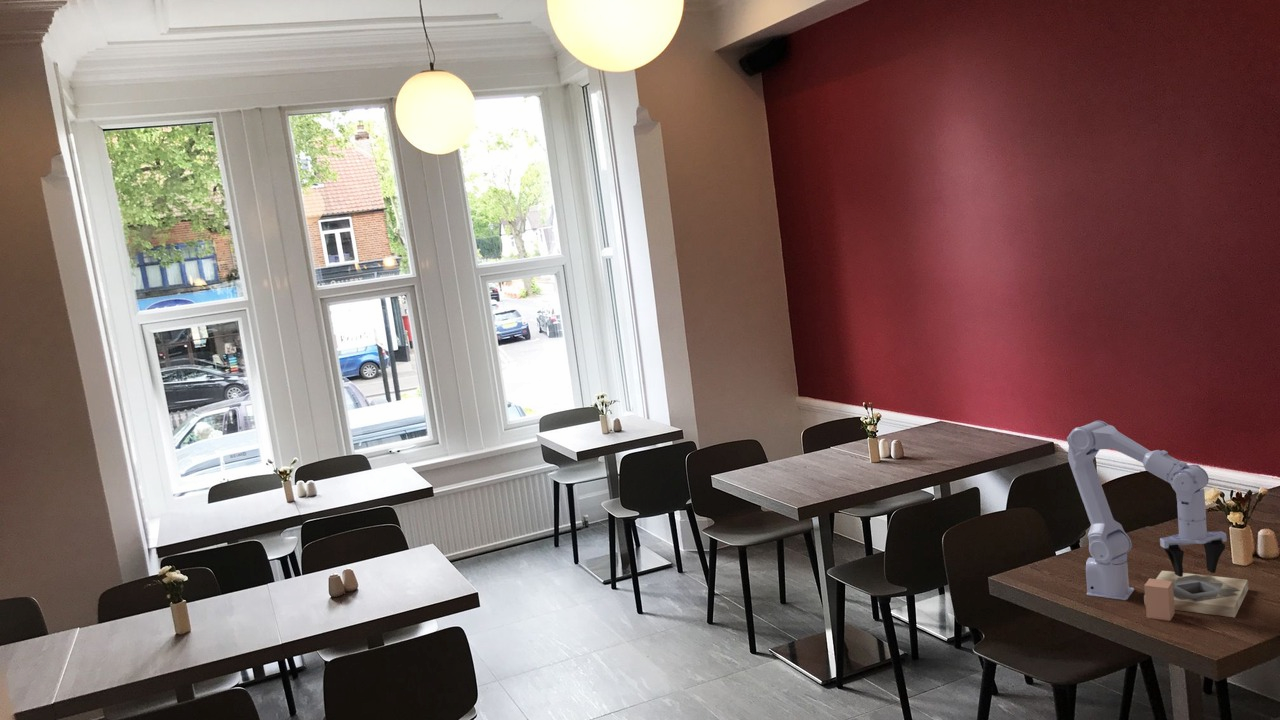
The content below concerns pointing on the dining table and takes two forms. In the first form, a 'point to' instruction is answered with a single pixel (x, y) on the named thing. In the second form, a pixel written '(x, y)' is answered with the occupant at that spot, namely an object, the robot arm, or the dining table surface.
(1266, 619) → the dining table surface
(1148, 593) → the peg
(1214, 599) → the socket board
